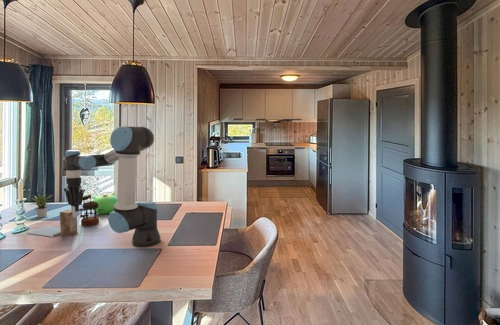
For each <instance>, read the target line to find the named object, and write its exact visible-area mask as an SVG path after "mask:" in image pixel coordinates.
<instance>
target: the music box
mask: <svg viewBox="0 0 500 325" xmlns="http://www.w3.org/2000/svg"><path fill="white" fill-rule="evenodd" d="M89 199H90V200H89ZM87 200H89V201H87ZM82 201H83V202H82V208H79V211H78V212H80V215H79V217H80V218H81V219H80V218H79V219H80V223H81V224H80V225H81V226H82V227H93V226H97V225H99V224H100V217H98V216H97V215H98V214H99V212H96V208H98V206H99V204H98V203H97V202H93V200H92V195H91V194H87V195H83V200H82ZM85 201H87V202H85ZM93 209H94V210H93ZM100 210H104V209H100ZM88 211H89V212H88ZM93 211H94V212H93ZM83 212H84V214H83ZM92 215H93V216H92Z"/></svg>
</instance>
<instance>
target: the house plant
mask: <svg viewBox="0 0 500 325" xmlns="http://www.w3.org/2000/svg"><path fill="white" fill-rule="evenodd" d="M52 196H53V194H50V195H49V196H47V197H46V194H45V193H44V194H43V195H42V196H41V194H40V193H38V197H37V196H36V195H34V198H35V199H34V198H33V197H32V198H31V199H32V200H34V201H35V203H33V202H32V203H31V205H36V206H37V207H36V208H35V212H36V215H37V216H36V217H37V218H39V217H41V218H46V217H47V216H48V207H49V206H47V205H48V204H51V202H50V201H51V199H50V198H51V197H52ZM49 199H50V200H49Z"/></svg>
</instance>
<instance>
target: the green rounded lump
mask: <svg viewBox="0 0 500 325" xmlns="http://www.w3.org/2000/svg"><path fill="white" fill-rule="evenodd" d="M115 194H116V192H115V191H114V192H111V193H109V194H100V195H99V196H96V195H91V199H93V200H92V202H97V203H98V204H99V206H98V208H96V212H99V213H98V214H99V215H100V214H101V215H106V214H108V215H109V214H110V213H111V212H113V211H114V205H115V204H116V203H117V196H115ZM100 209H104V210H100ZM92 211H94V209H93V210H92Z"/></svg>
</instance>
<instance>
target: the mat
mask: <svg viewBox="0 0 500 325" xmlns="http://www.w3.org/2000/svg"><path fill="white" fill-rule="evenodd" d="M27 234H28V235H34V236H41V237H48V238H49V237H50V238H55V237H56V238H57V237H59V236H62V235H61V227H59V226H52V225H46V226H42V227H38V228H37V229H34V230H31V231H28V232H26V235H27Z"/></svg>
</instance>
